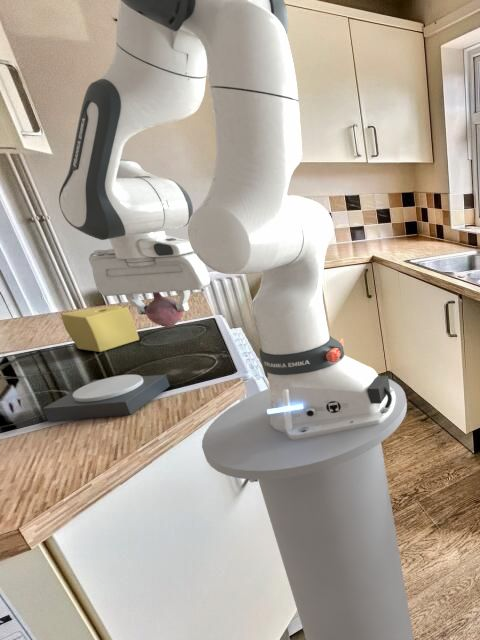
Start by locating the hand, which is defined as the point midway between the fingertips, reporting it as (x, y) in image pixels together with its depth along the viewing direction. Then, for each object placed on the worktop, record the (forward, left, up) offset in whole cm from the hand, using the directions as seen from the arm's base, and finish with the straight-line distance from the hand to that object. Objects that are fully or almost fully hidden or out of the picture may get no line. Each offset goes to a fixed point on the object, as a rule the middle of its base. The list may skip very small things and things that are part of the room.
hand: (165, 312), depth 91 cm
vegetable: (0, 0, -4) cm, 4 cm away
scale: (+7, +12, -15) cm, 20 cm away
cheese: (+34, -26, -15) cm, 46 cm away
